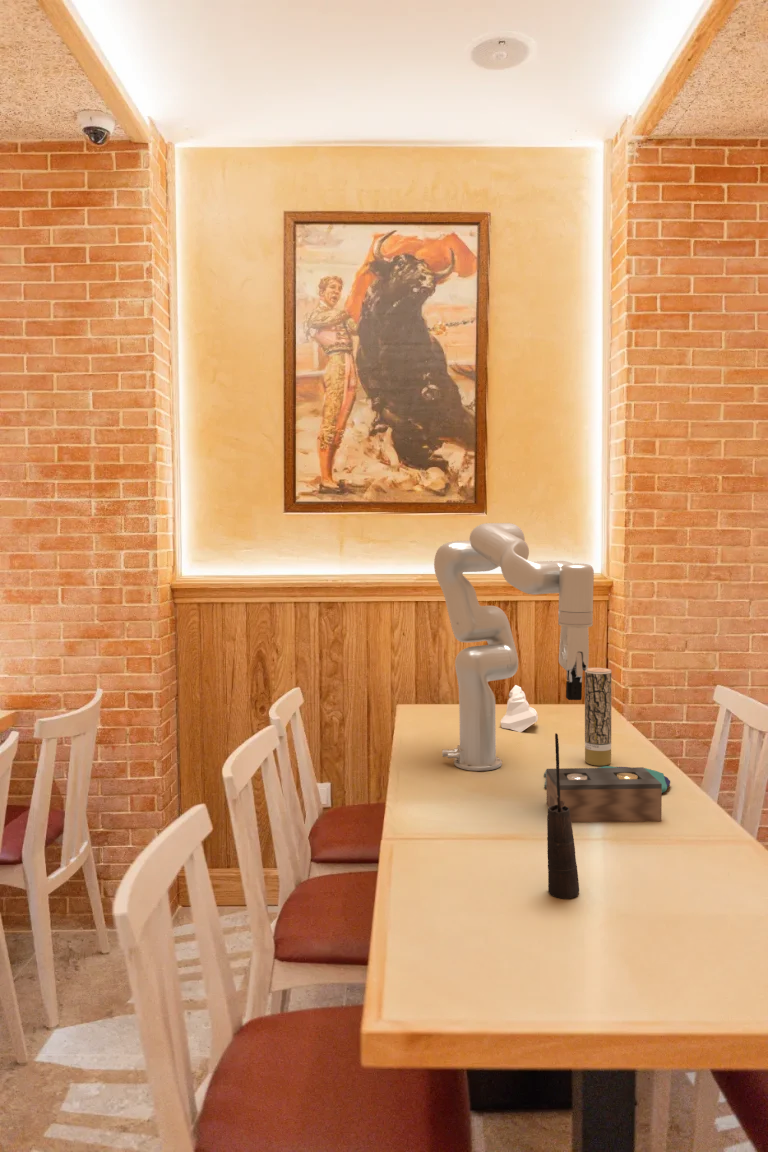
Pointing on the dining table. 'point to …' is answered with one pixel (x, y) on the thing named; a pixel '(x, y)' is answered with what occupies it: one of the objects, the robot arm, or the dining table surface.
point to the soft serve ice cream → (518, 712)
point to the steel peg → (576, 777)
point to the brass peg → (627, 776)
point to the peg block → (607, 794)
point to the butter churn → (561, 847)
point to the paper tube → (598, 716)
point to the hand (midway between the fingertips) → (573, 699)
